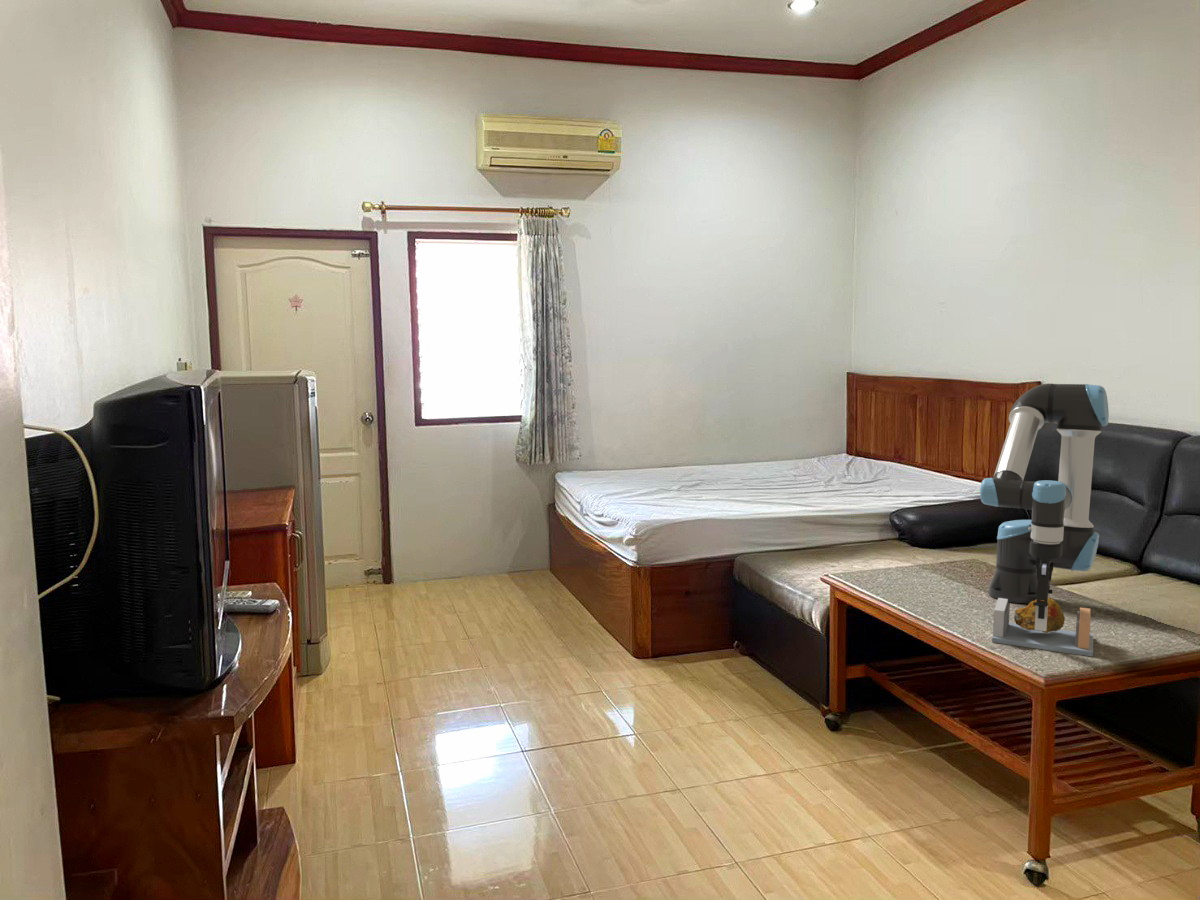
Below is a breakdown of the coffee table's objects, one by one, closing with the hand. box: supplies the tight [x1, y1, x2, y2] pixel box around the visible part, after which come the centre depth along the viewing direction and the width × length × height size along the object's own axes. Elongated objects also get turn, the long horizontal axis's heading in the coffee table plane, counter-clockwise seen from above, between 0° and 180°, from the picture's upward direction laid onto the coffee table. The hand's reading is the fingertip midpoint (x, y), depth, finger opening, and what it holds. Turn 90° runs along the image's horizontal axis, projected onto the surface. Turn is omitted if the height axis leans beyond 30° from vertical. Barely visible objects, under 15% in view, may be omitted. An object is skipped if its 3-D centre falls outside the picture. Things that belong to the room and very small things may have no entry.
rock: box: [1013, 597, 1066, 633], centre depth 234 cm, size 11×8×10 cm
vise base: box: [991, 598, 1094, 657], centre depth 233 cm, size 15×23×8 cm, turn 62°
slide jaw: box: [1075, 607, 1091, 649], centre depth 229 cm, size 12×3×7 cm, turn 152°
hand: (1041, 623), depth 234 cm, fingers closed on rock, 10 cm apart
